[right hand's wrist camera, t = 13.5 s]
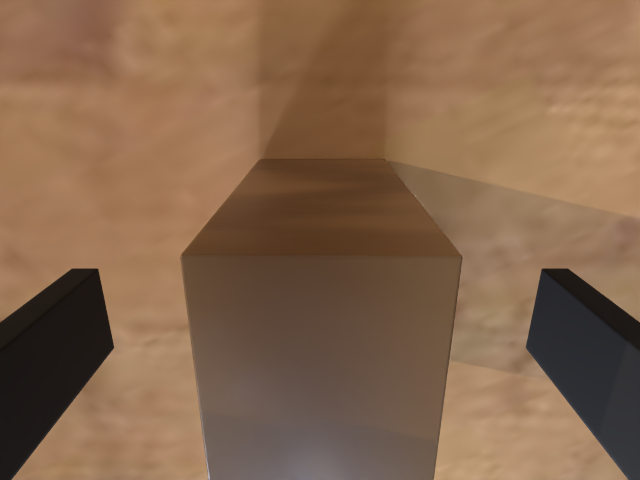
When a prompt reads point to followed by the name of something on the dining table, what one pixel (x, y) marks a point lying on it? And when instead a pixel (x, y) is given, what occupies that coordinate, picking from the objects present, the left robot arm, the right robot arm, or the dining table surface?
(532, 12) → the dining table surface
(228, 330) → the block
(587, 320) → the right robot arm
